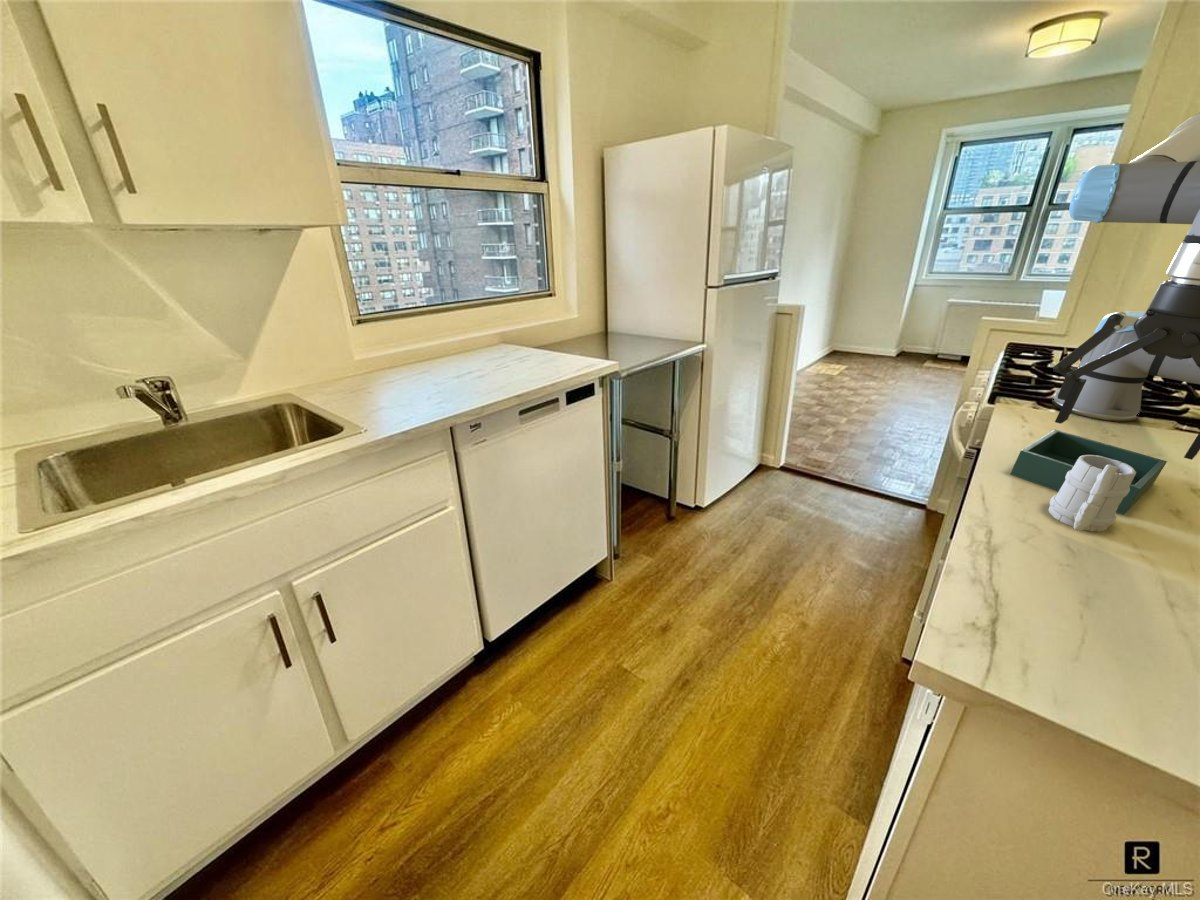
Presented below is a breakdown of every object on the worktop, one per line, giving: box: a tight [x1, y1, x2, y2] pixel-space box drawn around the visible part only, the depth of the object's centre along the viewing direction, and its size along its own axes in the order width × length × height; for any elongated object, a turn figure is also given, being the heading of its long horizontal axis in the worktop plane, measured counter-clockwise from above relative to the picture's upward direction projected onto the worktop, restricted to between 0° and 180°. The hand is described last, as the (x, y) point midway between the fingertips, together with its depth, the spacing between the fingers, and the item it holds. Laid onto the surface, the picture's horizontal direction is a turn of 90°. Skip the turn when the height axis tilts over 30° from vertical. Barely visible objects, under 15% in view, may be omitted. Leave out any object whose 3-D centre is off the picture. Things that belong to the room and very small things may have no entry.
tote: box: [1009, 429, 1168, 516], centre depth 86 cm, size 17×16×5 cm
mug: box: [1048, 455, 1136, 532], centre depth 73 cm, size 8×12×12 cm, turn 135°
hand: (1120, 437), depth 69 cm, fingers open, 13 cm apart
